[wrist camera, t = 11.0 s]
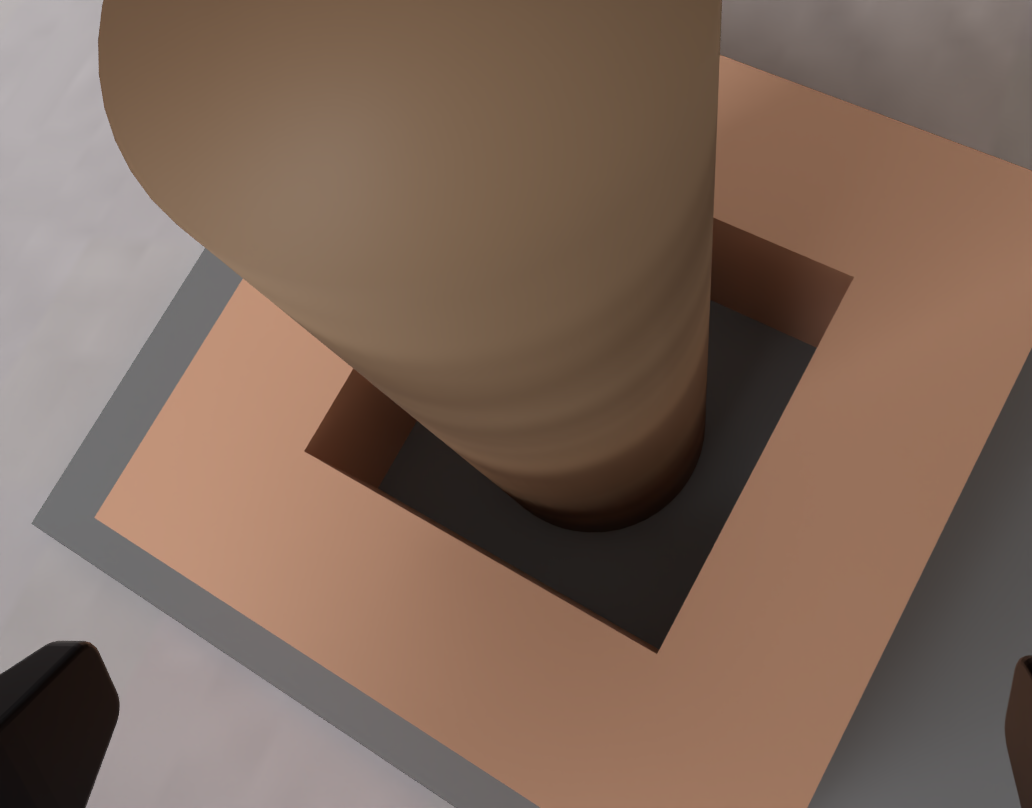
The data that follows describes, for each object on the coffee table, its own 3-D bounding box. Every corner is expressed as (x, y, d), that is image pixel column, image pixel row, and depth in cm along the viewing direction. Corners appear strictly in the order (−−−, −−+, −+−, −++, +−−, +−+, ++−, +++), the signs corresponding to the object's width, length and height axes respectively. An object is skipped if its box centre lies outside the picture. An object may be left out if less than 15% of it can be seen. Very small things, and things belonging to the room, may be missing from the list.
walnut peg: (751, 445, 17) (871, 1, 5) (567, 577, 17) (285, 422, 5) (618, 278, 18) (479, -377, 6) (446, 401, 18) (5, -33, 6)
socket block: (1022, 289, 16) (1104, 198, 13) (733, 874, 15) (743, 939, 12) (488, 71, 20) (445, -48, 16) (204, 542, 18) (94, 518, 15)
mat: (1257, 306, 16) (1271, 297, 16) (899, 1095, 14) (904, 1108, 14) (392, -28, 21) (386, -40, 21) (44, 526, 19) (31, 523, 19)
